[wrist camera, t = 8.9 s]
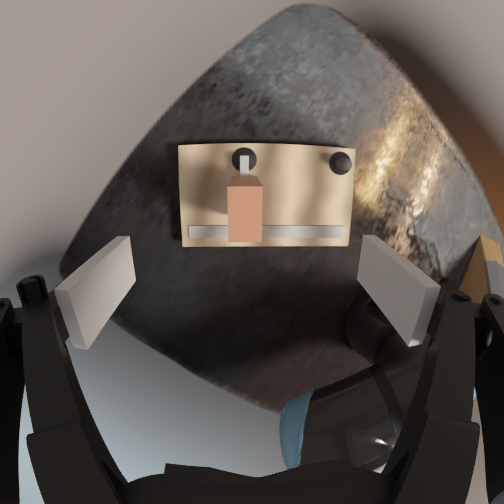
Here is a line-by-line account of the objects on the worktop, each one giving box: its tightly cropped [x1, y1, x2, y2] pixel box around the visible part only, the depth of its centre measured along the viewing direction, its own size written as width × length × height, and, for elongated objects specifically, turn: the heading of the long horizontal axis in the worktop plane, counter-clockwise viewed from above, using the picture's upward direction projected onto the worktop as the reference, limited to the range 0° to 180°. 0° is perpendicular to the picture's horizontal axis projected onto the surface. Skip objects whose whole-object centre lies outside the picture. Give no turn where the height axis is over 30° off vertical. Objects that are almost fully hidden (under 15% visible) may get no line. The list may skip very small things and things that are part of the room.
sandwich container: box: [458, 235, 504, 303], centre depth 35 cm, size 9×15×15 cm, turn 166°
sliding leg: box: [227, 156, 263, 242], centre depth 29 cm, size 3×8×10 cm, turn 0°
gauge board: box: [178, 143, 355, 247], centre depth 34 cm, size 22×13×4 cm, turn 90°
